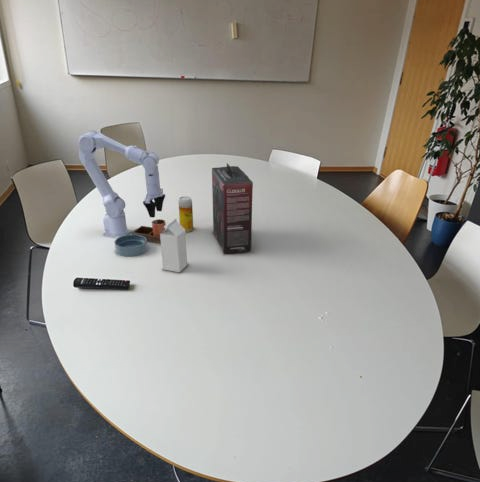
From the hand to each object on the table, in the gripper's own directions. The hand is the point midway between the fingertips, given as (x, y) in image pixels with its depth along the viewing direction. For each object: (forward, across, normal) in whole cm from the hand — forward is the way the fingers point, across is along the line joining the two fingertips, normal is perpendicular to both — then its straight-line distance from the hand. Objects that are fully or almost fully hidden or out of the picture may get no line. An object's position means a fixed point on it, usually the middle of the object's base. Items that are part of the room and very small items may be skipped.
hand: (155, 213), depth 191 cm
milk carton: (+10, -27, -19) cm, 35 cm away
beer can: (+10, +9, -11) cm, 17 cm away
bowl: (+10, -18, +4) cm, 21 cm away
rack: (+10, -5, 0) cm, 11 cm away
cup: (+9, -6, -4) cm, 11 cm away
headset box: (+10, +2, -34) cm, 36 cm away
